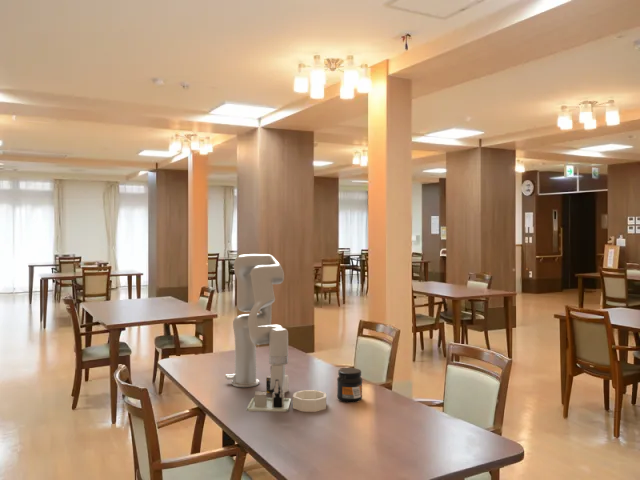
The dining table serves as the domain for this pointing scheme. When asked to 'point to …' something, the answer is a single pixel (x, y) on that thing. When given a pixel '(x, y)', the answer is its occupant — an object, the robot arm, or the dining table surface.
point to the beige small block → (260, 399)
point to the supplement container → (349, 385)
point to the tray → (269, 406)
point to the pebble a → (282, 399)
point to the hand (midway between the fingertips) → (278, 404)
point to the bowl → (309, 400)
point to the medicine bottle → (268, 390)
